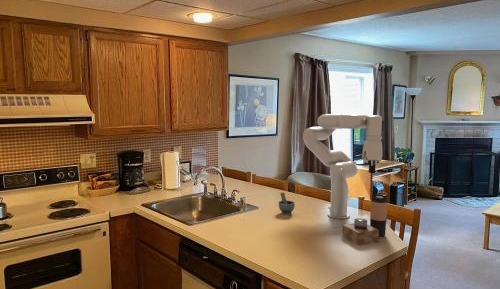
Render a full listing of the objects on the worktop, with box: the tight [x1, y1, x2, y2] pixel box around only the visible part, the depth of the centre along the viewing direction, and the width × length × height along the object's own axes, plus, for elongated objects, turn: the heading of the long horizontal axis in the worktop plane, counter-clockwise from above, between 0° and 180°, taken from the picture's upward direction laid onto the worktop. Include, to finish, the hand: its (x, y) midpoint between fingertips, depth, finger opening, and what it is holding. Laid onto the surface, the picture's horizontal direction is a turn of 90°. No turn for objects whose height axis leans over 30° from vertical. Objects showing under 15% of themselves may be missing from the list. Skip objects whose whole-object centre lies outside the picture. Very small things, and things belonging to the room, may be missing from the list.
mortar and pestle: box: [278, 192, 296, 216], centre depth 216 cm, size 11×9×12 cm
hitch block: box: [341, 222, 380, 246], centre depth 175 cm, size 12×12×6 cm
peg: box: [353, 217, 368, 229], centre depth 175 cm, size 6×6×9 cm
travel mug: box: [369, 193, 388, 238], centre depth 180 cm, size 8×8×20 cm
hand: (371, 172), depth 193 cm, fingers closed
